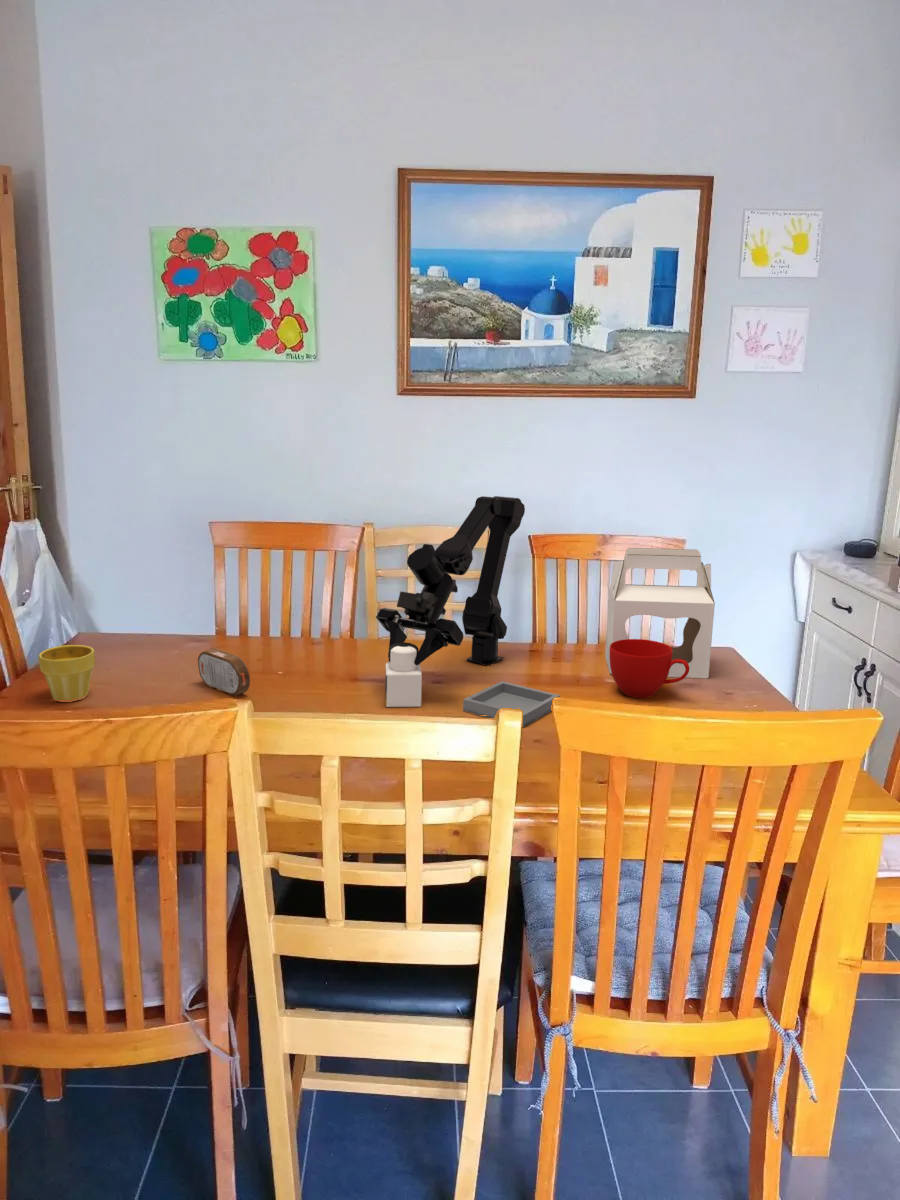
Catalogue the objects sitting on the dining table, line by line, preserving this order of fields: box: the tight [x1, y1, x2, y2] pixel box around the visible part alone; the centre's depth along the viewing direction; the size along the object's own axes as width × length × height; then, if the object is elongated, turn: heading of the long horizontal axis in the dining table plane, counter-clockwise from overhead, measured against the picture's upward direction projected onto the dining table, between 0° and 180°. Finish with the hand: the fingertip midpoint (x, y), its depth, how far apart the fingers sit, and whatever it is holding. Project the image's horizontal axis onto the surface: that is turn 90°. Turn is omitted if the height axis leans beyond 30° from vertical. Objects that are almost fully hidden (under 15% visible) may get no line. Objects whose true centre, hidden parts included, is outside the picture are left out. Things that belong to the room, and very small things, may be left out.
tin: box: [197, 647, 251, 697], centre depth 185 cm, size 15×3×8 cm, turn 50°
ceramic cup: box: [609, 638, 689, 699], centre depth 185 cm, size 13×17×10 cm
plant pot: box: [38, 644, 96, 700], centre depth 180 cm, size 10×10×10 cm
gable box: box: [605, 547, 716, 680], centre depth 201 cm, size 22×13×28 cm, turn 85°
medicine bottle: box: [384, 642, 423, 708], centre depth 179 cm, size 7×7×12 cm
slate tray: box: [462, 680, 561, 728], centre depth 177 cm, size 14×14×2 cm
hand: (402, 661), depth 178 cm, fingers closed on medicine bottle, 6 cm apart
